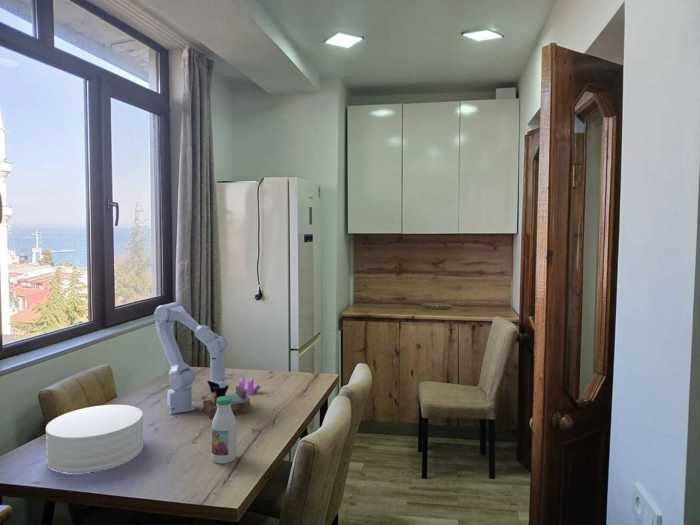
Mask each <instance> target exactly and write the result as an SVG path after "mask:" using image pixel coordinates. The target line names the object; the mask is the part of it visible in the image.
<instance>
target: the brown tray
mask: <svg viewBox="0 0 700 525" xmlns="http://www.w3.org/2000/svg"><path fill="white" fill-rule="evenodd" d="M202 406H203V407H202V408H203V409H202V410H203V412H204V413H205V414H206V415H207V417H208V418H209V419H210V420H213V418H214V416H215V414H216V411H217V405H216V406H213V405H212V402H211V399H206V400H205V399H204V400H203V403H202ZM231 410H232V412H233V414H234V416H235V415H239V414H245V413H249V412H250V413H251V401H250V402H245V403H239V404H234V405H231Z"/></svg>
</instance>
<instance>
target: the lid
mask: <svg viewBox="0 0 700 525" xmlns="http://www.w3.org/2000/svg"><path fill="white" fill-rule="evenodd" d="M225 396H229V397H231V405H234V404H239V403H245V402H250V403H251V399H250V397H248V395H246V391H245V390H244V389H243V388H241V387H240V386H239V385H237V386H235V392H230V393H226V394H225Z"/></svg>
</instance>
